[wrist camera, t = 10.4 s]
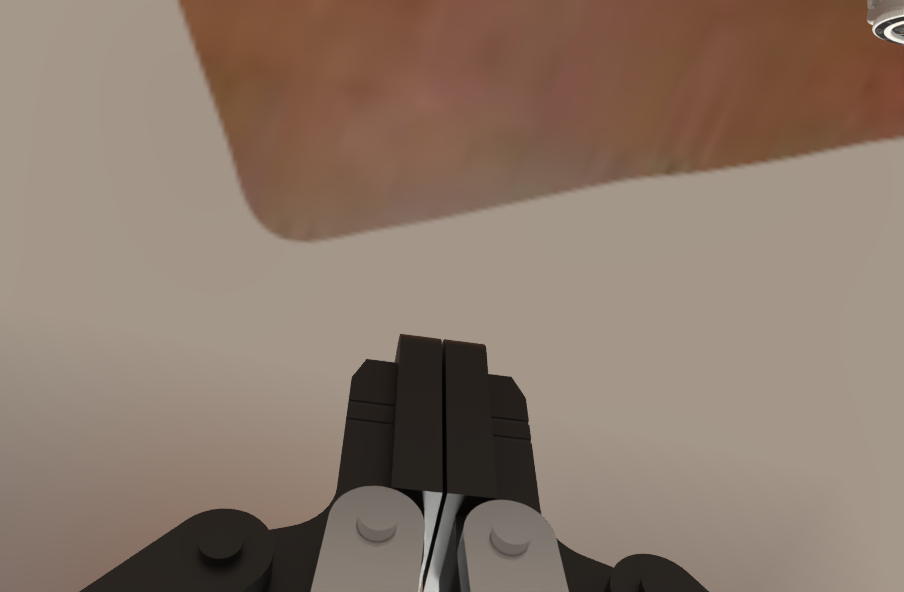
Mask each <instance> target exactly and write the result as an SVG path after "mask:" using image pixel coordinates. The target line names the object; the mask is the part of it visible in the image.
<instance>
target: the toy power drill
mask: <svg viewBox="0 0 904 592" xmlns="http://www.w3.org/2000/svg"><path fill="white" fill-rule="evenodd" d="M867 6H868V9H869V10H868V13H867V21H868V23H870V24H872V25H873V28H872V31H873V33H874V34H875V35H876V36H877V37H879V38H881V39H883V40H886V41H889V42H893V43H896V44H901V45H904V0H867Z"/></svg>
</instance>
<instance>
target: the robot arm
mask: <svg viewBox="0 0 904 592" xmlns="http://www.w3.org/2000/svg"><path fill="white" fill-rule="evenodd" d="M528 421H529V420H528V412H527V404H526V398H525V396H524V395H523V393H522V392H521V390H520V389H519V387H518V386H517V385H516V383H515V382H514V380H513V379H512V377H508V376H499V375H491V374H488V366H487V353H486V346H485V345H483V344H476V343H469V342H461V341H452V340H445V339H444V340H443V343H442V341H441V339H436V338H429V337H421V336H413V335H405V334H400V336H399V341H398V346H397V352H396V359H395V363H394V362H386V361H378V360H370V359H366V361H365V362H364V363H363V364H362V365H361V367H360V368H359V369H358V370H357V372H356V373H355V374H354V375H353V376H352V380H351V387H350V395H349V403H348V410H347V417H346V424H345V432H344V439H343V447H342V454H341V462H340V469H339V477H338V484H337V490H336V494H335V496H334V498H333V500H332V502H331V503H330V505H329V506H328V507H327V508H326V509H325V510H324V511H323V512H322V513H320V514H319V515H318V516H316V517H315V518H313V519H311V520H309V521H306V522H304V523H301V524H298V525H294V526H289V527H284V528H278V529H272V530H268V528H267V527H266V525H264V523H262V522H261V520H259V519H258V518H256V517H255V516H253V515H251V514H249V513H247V512H243V511H239V510H235V509H214V510H209V511H205V512H202V513H199V514H197V515H194V516H193V517H191V518H189V519H187V520H186V521H184V522H183V523H181V524H180V525H179V526H177V527H175V528H174V529H172V530H171V531H169V532H168V533H167V534H165V535H163V536H162V537H160V538H159V539H158V540H156V541H154V542H153V543H151V544H150V545H148V546H147V547H146V548H144V549H142V550H141V551H139V552H138V553H137V554H135V555H133V556H132V557H130V558H129V559H127V560H126V561H124V562H123V563H122V564H120V565H119V566H117V567H116V568H114V569H113V570H111V571H110V572H108V573H107V574H105V575H104V576H102V577H101V578H99V579H98V580H96V581H95V582H93V583H92V584H90V585H89V586H87V587H86V588H84V589H83V590H81V591H80V592H419V590H420V586H421V582H422V578H423V592H709V591H707V590H706V589H705V588H704V587H703V586H702V585H701V584H700V583H699V582H698V581H697V580H696V579H694V578H693V577H692V576H691V575H690V574H689V573H688V572H687V571H685V570H684V569H683V568H682V567H680V566H679V565H677V564H676V563H674V562H672V561H670V560H668V559H666V558H663V557H660V556H656V555H651V554H635V555H631V556H628V557H626V558H624V559H622V560H621V561H620V562H618V563H617V564H616V566H615V567H614V568H613V567H611V566H608V565H606V564H603V563H600V562H598V561H595V560H593V559H590V558H587V557H585V556H583V555H581V554H578V553H576V552H574V551H573V550H571V549H569V548H568V547H566V546H565V545H564V544H562V543H561V542H560V541H559V540H558V539H557V538H556V536H555V533H554V531H553V529H552V527H551V525H550V524H549V523H548V522H547V520H546V519H545V518H544V517H543V516H542V515H541V510H540V504H539V496H538V488H537V481H536V473H535V466H534V458H533V450H532V444H531V435H530V427H529V425H528Z"/></svg>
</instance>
